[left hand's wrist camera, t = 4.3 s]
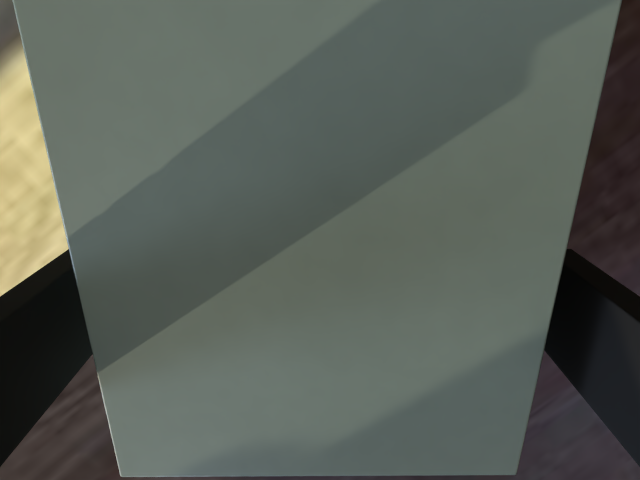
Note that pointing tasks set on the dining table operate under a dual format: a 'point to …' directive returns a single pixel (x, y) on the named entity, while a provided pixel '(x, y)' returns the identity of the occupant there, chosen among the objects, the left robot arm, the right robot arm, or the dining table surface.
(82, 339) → the left robot arm
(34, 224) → the dining table surface
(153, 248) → the cabinet
